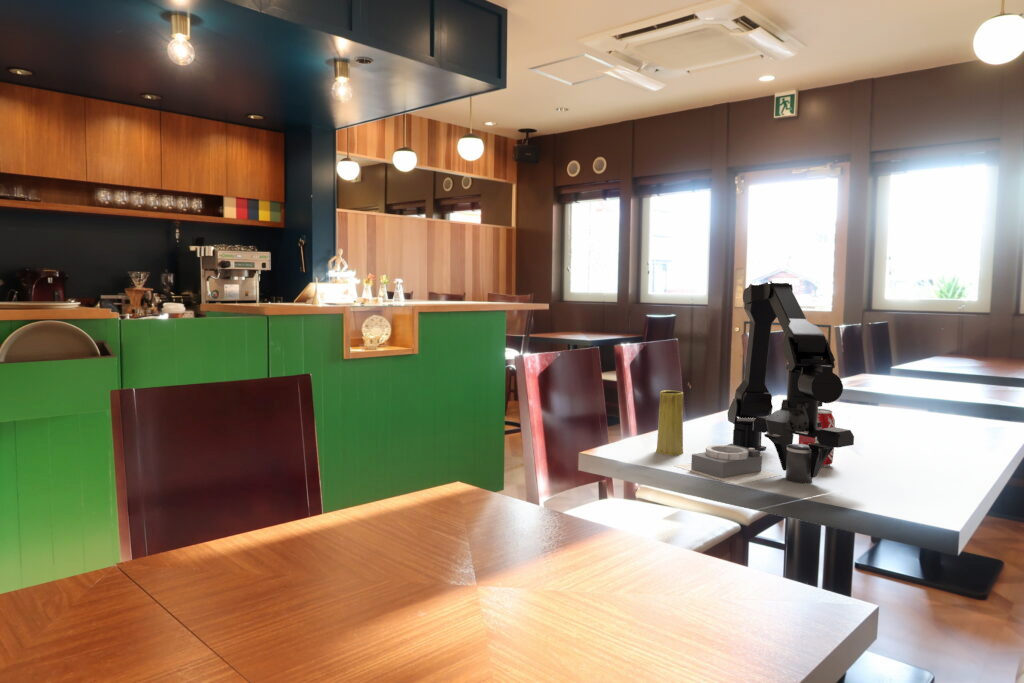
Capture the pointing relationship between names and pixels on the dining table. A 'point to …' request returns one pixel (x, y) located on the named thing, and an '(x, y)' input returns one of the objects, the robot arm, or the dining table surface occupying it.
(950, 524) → the dining table surface
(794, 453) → the lens
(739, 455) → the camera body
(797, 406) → the robot arm
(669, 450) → the vase
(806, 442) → the soda can
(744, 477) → the mat
